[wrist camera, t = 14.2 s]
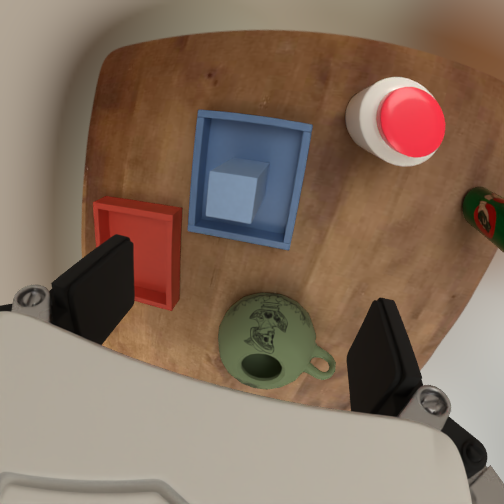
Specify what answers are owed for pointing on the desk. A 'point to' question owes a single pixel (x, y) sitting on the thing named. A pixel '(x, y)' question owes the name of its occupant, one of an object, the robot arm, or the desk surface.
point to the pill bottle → (396, 121)
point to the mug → (269, 342)
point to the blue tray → (258, 149)
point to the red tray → (146, 245)
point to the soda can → (486, 214)
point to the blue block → (237, 189)
